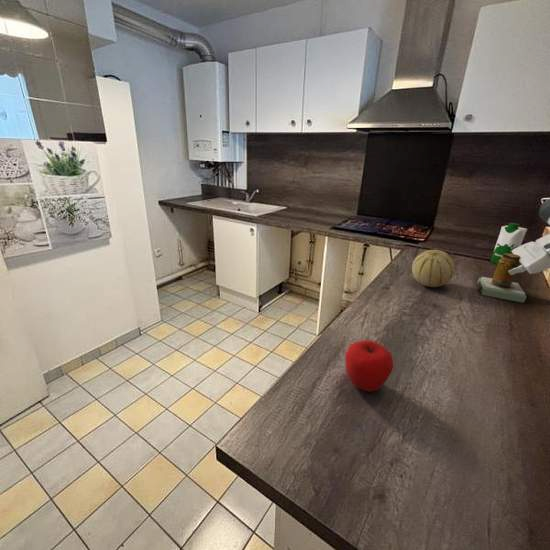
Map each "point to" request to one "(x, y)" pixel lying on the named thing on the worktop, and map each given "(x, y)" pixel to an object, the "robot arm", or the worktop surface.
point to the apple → (368, 365)
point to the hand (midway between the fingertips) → (505, 268)
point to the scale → (501, 291)
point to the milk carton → (508, 240)
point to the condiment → (505, 272)
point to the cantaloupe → (433, 268)
